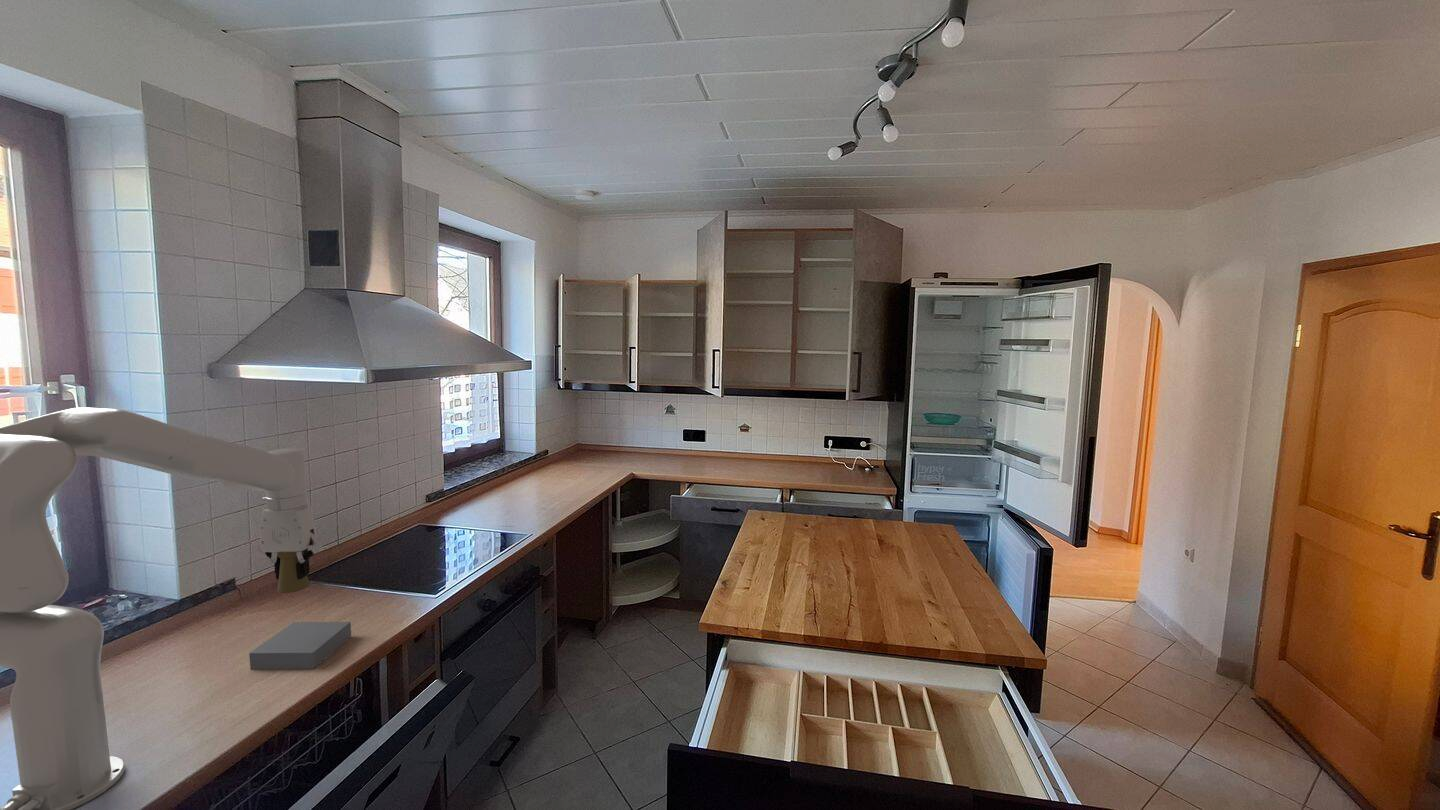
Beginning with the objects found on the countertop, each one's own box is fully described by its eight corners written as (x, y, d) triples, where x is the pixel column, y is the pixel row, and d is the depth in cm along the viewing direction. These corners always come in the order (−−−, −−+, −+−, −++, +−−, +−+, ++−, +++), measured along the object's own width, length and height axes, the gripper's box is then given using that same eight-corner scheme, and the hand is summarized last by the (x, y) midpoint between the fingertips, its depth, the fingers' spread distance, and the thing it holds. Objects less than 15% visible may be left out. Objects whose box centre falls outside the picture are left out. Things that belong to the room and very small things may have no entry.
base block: (313, 669, 126) (312, 652, 126) (250, 669, 126) (249, 653, 125) (351, 636, 140) (350, 621, 140) (294, 636, 139) (293, 622, 139)
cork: (305, 579, 135) (302, 536, 133) (313, 586, 131) (309, 542, 129) (274, 587, 130) (270, 543, 129) (281, 595, 126) (277, 549, 125)
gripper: (236, 506, 124) (242, 584, 126) (314, 507, 125) (319, 583, 127) (261, 497, 131) (267, 570, 133) (334, 497, 132) (339, 570, 134)
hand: (292, 576), depth 130 cm, fingers closed on cork, 4 cm apart
